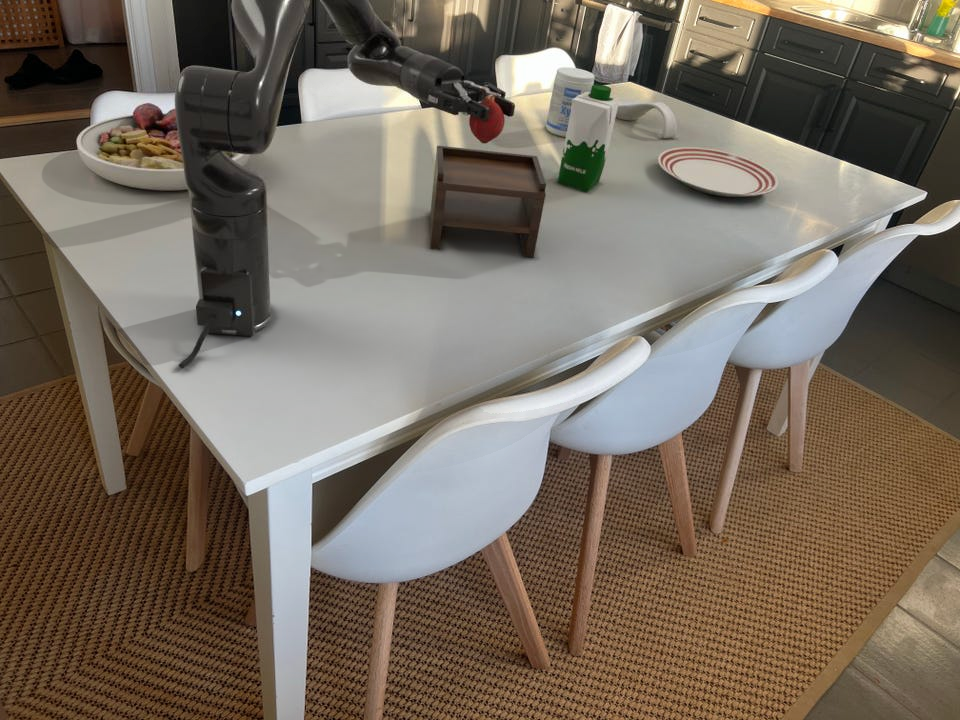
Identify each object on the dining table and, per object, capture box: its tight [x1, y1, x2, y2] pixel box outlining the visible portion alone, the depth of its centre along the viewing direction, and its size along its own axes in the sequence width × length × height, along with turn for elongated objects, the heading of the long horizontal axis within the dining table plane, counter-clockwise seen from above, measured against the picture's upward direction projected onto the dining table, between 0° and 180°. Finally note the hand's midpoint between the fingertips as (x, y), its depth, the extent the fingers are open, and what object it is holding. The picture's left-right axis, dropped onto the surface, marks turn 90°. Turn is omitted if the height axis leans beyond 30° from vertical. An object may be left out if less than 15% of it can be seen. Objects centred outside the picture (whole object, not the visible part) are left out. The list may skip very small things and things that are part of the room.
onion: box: [468, 94, 506, 145], centre depth 124 cm, size 6×6×8 cm
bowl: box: [76, 102, 251, 191], centre depth 141 cm, size 30×30×8 cm
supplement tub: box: [545, 66, 595, 138], centre depth 187 cm, size 10×10×15 cm
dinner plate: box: [657, 146, 779, 198], centre depth 174 cm, size 27×27×3 cm
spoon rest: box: [612, 97, 678, 139], centre depth 203 cm, size 24×12×7 cm, turn 34°
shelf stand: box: [429, 145, 547, 259], centre depth 132 cm, size 14×18×13 cm
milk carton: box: [557, 84, 619, 193], centre depth 157 cm, size 9×9×20 cm
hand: (500, 112), depth 121 cm, fingers closed on onion, 5 cm apart
